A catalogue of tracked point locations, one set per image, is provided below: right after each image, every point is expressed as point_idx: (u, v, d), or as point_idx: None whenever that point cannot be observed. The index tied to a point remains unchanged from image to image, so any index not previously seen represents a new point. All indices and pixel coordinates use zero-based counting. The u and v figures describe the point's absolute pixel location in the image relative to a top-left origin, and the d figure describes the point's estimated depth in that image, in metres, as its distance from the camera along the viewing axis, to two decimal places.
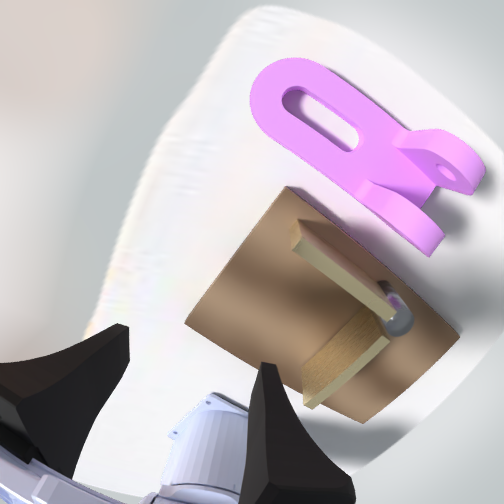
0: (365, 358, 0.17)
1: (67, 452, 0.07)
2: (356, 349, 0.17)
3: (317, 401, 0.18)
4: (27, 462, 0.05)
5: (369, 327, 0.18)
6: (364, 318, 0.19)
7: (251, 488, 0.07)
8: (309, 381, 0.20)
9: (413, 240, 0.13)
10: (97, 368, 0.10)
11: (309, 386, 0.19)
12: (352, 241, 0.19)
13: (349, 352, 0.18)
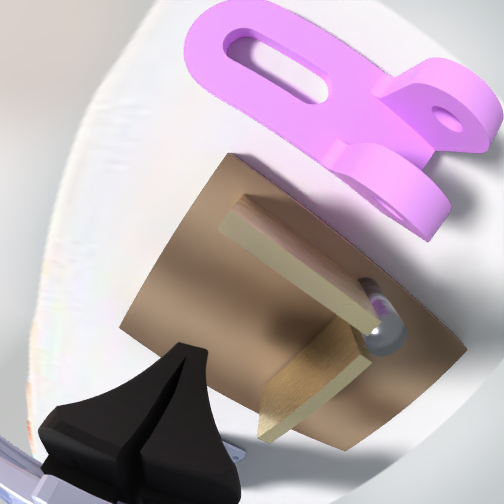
0: (337, 384, 0.12)
1: (142, 484, 0.07)
2: (325, 371, 0.13)
3: (275, 434, 0.13)
4: None
5: (344, 341, 0.13)
6: (339, 328, 0.14)
7: None
8: (267, 407, 0.15)
9: (402, 211, 0.08)
10: (169, 393, 0.10)
11: (266, 414, 0.14)
12: (321, 223, 0.14)
13: (316, 374, 0.13)
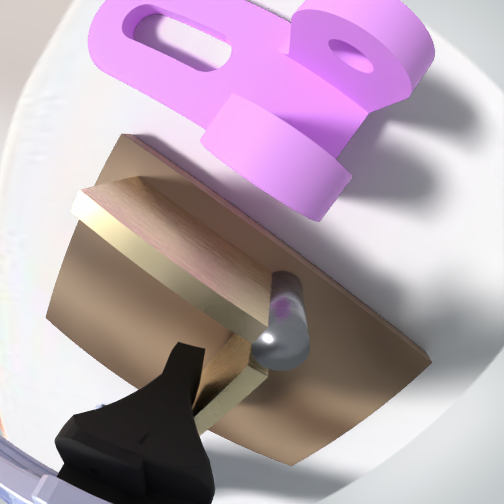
0: (228, 399, 0.10)
1: None
2: (220, 381, 0.11)
3: None
4: None
5: (243, 347, 0.11)
6: None
7: None
8: None
9: (246, 174, 0.06)
10: None
11: None
12: (221, 206, 0.12)
13: (214, 383, 0.11)
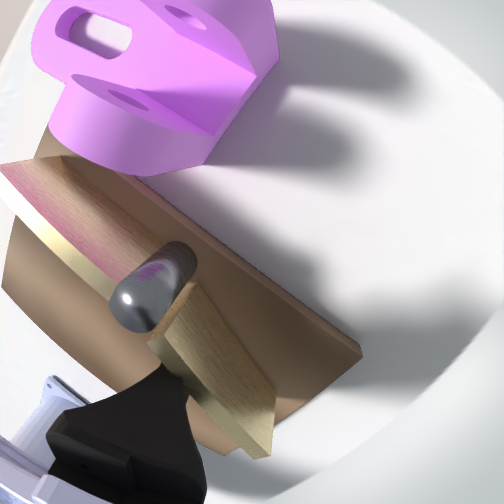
0: (186, 378, 0.10)
1: None
2: None
3: (254, 448, 0.10)
4: None
5: None
6: None
7: None
8: None
9: (58, 136, 0.06)
10: None
11: None
12: (120, 178, 0.12)
13: None
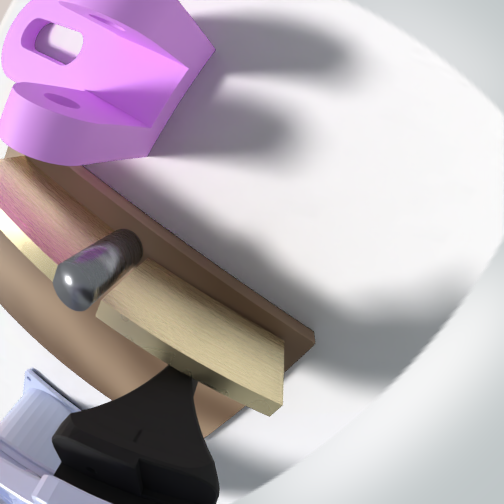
0: (141, 338, 0.09)
1: None
2: None
3: (258, 400, 0.10)
4: None
5: None
6: None
7: None
8: None
9: (2, 136, 0.06)
10: None
11: None
12: (74, 173, 0.12)
13: None
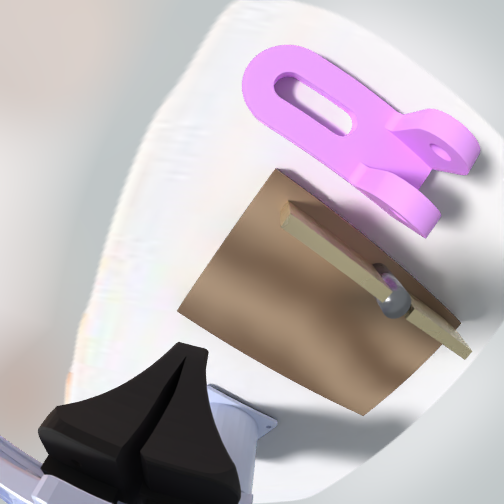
0: (428, 326, 0.16)
1: (143, 484, 0.07)
2: None
3: (464, 350, 0.16)
4: None
5: None
6: None
7: None
8: None
9: (408, 219, 0.12)
10: (169, 393, 0.10)
11: None
12: (345, 222, 0.18)
13: None
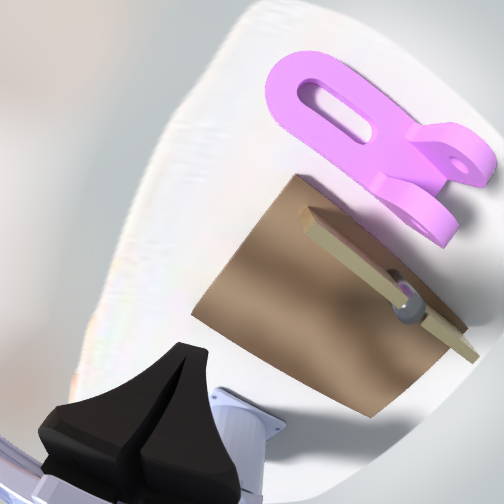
0: (440, 332, 0.16)
1: (143, 484, 0.07)
2: None
3: (472, 355, 0.16)
4: None
5: None
6: None
7: None
8: None
9: (430, 230, 0.12)
10: (169, 393, 0.10)
11: None
12: (362, 229, 0.18)
13: None
